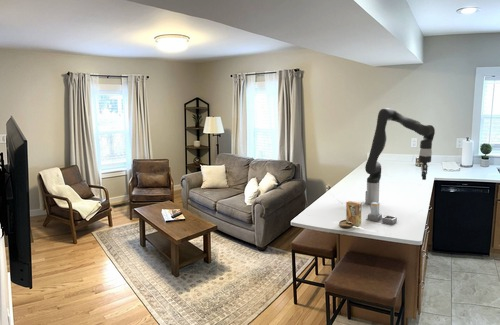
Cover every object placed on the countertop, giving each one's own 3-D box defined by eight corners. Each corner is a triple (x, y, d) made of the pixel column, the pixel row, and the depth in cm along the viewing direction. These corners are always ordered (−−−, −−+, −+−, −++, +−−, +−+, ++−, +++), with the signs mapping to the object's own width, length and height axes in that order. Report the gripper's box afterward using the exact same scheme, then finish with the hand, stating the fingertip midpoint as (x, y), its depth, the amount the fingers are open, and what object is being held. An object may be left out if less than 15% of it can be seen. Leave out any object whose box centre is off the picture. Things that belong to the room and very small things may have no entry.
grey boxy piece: (365, 221, 232) (365, 215, 231) (372, 216, 241) (372, 211, 240) (392, 227, 220) (392, 221, 219) (399, 222, 228) (399, 216, 228)
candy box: (361, 225, 225) (361, 202, 222) (358, 227, 222) (359, 204, 219) (348, 222, 230) (348, 200, 228) (345, 224, 227) (346, 202, 225)
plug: (370, 218, 233) (370, 203, 231) (373, 217, 236) (373, 201, 234) (376, 220, 230) (376, 204, 229) (378, 218, 233) (379, 202, 232)
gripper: (418, 153, 240) (416, 175, 243) (419, 156, 227) (418, 180, 230) (430, 153, 237) (428, 176, 240) (432, 156, 224) (430, 181, 227)
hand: (423, 178), depth 235 cm, fingers open, 8 cm apart
